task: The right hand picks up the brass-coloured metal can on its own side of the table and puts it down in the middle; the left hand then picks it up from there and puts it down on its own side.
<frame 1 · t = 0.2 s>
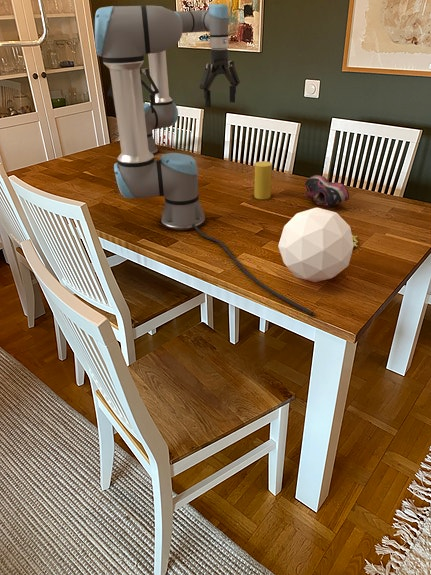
left hand: (220, 104, 192), 28 cm above the table, tool pointing down, fingers open, 13 cm apart
right hand: (135, 113, 180), 28 cm above the table, tool pointing down, fingers open, 13 cm apart
can: (262, 196, 175), on the table
athletic shoe: (320, 202, 168), on the table
decorative object: (328, 239, 142), on the table
sphere: (312, 276, 123), on the table
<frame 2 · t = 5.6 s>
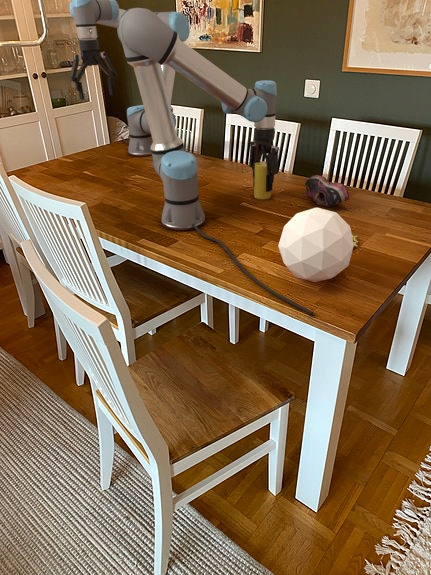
left hand: (97, 97, 185), 33 cm above the table, tool pointing down, fingers open, 13 cm apart
right hand: (262, 188, 173), 3 cm above the table, tool pointing down, fingers closed on can, 6 cm apart
can: (262, 196, 175), on the table, touching right hand
everything else where it was.
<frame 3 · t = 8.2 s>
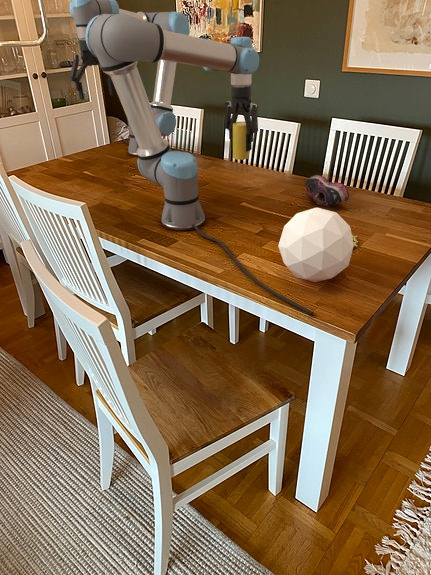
left hand: (97, 97, 185), 33 cm above the table, tool pointing down, fingers open, 13 cm apart
right hand: (241, 149, 174), 16 cm above the table, tool pointing down, fingers closed on can, 6 cm apart
can: (241, 157, 176), point 13 cm above the table, touching right hand
everything else where it was.
when the right hand's fingers open (5 cm above the table, at t = 11.3 s): can drops 2 cm, on the table.
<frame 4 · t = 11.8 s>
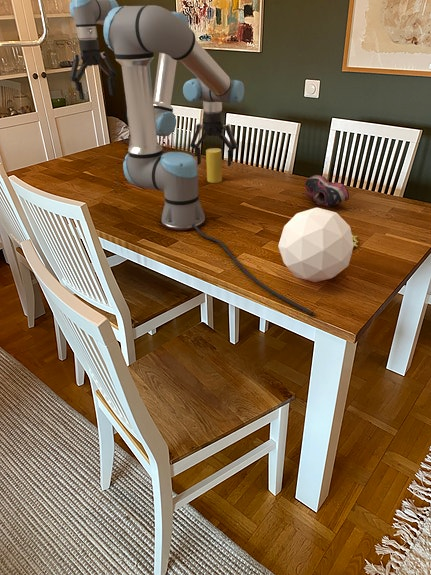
left hand: (97, 97, 185), 33 cm above the table, tool pointing down, fingers open, 13 cm apart
right hand: (214, 164, 189), 7 cm above the table, tool pointing down, fingers open, 13 cm apart
can: (214, 180, 193), on the table
everything else where it was.
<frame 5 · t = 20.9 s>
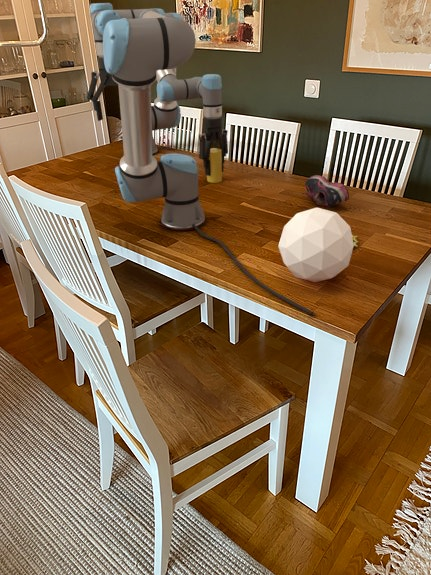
left hand: (214, 172, 191), 3 cm above the table, tool pointing down, fingers closed on can, 6 cm apart
right hand: (117, 120, 164), 29 cm above the table, tool pointing down, fingers open, 13 cm apart
can: (214, 180, 193), on the table, touching left hand
everything else where it was.
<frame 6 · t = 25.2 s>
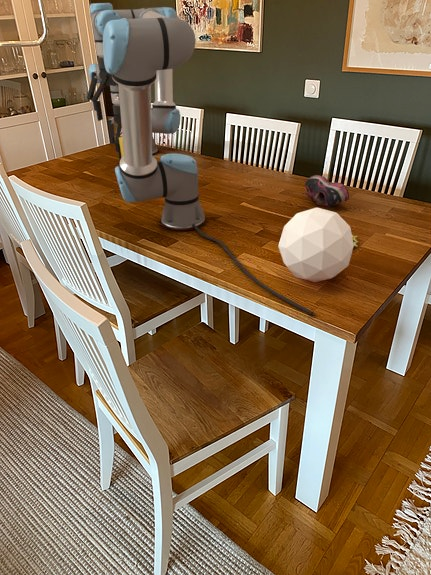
left hand: (129, 159, 194), 8 cm above the table, tool pointing down, fingers closed on can, 6 cm apart
right hand: (117, 120, 164), 29 cm above the table, tool pointing down, fingers open, 13 cm apart
can: (130, 166, 196), point 5 cm above the table, touching left hand
everything else where it was.
when the left hand's fingers open (5 cm above the table, at t = 29.5 s): can drops 2 cm, on the table.
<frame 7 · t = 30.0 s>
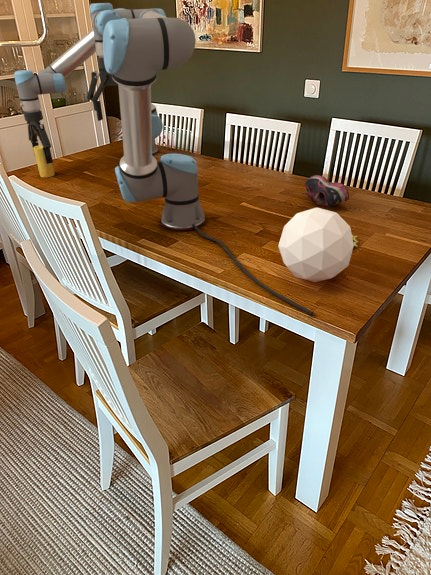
left hand: (43, 160, 201), 7 cm above the table, tool pointing down, fingers open, 13 cm apart
right hand: (117, 120, 164), 29 cm above the table, tool pointing down, fingers open, 13 cm apart
can: (47, 175, 205), on the table
everything else where it was.
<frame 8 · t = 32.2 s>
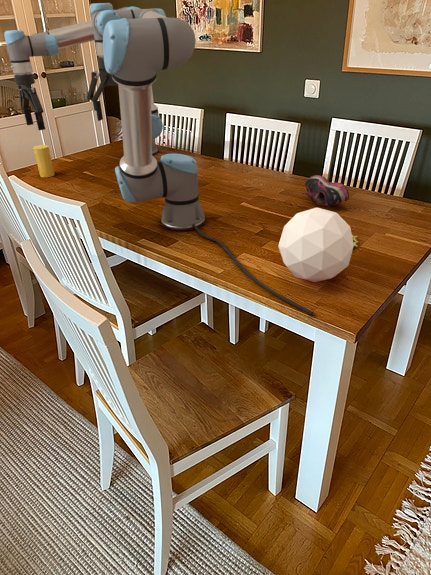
left hand: (36, 127, 193), 21 cm above the table, tool pointing down, fingers open, 13 cm apart
right hand: (117, 120, 164), 29 cm above the table, tool pointing down, fingers open, 13 cm apart
nothing on the table moved.
at the end: can inside the target area (0.0 cm from its centre), on the table; can tilted 0°; the two hands never held the can at the same time; the left hand is holding nothing; the right hand is holding nothing; can at rest at the end (0.0 cm/s) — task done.
